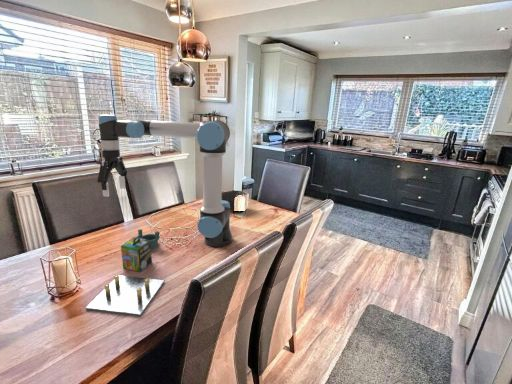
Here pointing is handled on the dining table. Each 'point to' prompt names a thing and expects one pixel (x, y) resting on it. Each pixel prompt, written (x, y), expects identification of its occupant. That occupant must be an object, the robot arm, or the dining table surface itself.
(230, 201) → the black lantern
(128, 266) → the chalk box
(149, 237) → the green pot
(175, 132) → the robot arm
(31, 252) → the dining table surface
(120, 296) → the plate
